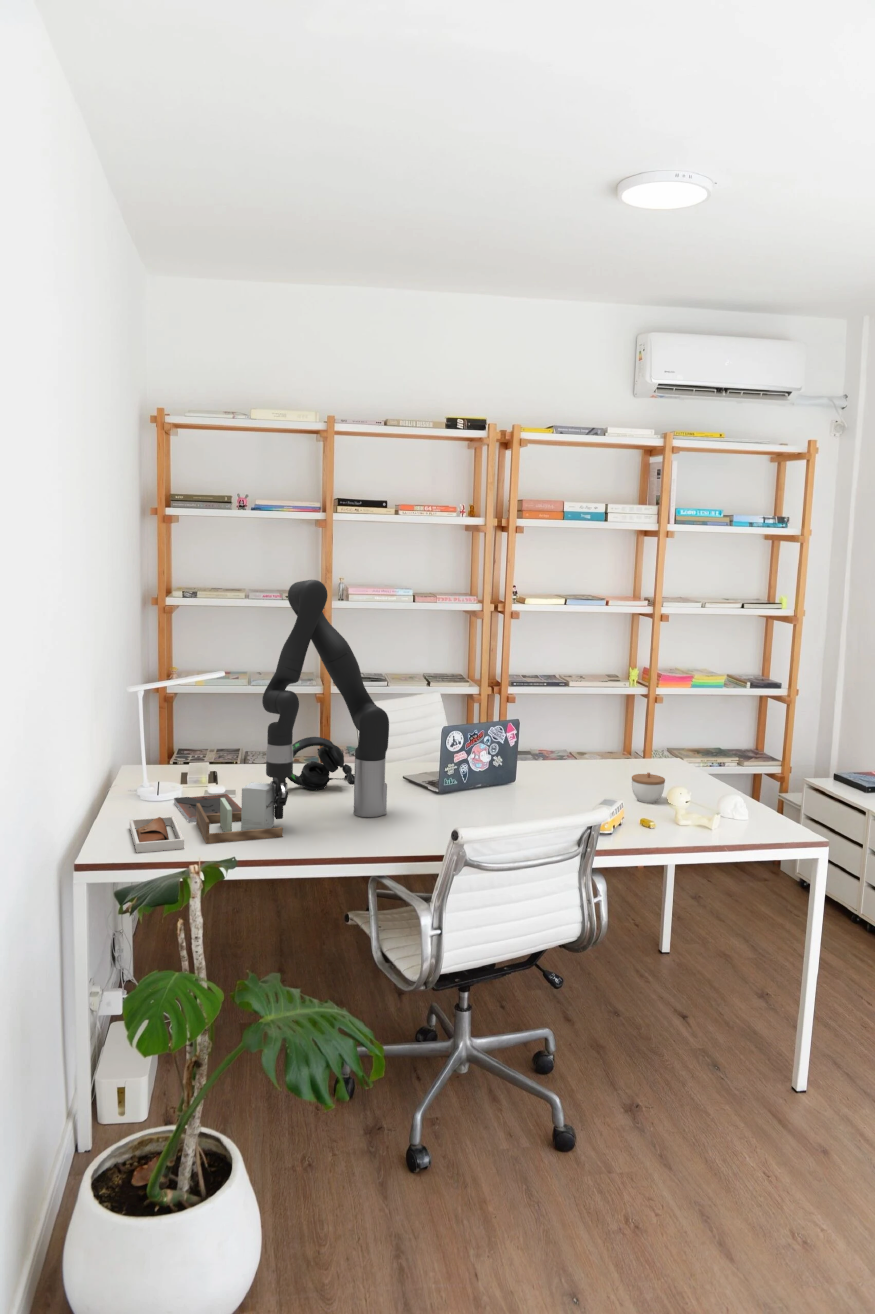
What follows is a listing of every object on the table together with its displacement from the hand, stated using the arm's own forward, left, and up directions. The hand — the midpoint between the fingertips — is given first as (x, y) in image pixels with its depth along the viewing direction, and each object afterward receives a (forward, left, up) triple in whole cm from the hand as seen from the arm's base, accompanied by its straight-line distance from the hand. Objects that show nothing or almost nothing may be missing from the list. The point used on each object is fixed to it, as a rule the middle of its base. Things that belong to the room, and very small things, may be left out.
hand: (278, 818), depth 276 cm
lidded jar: (-122, +4, -3) cm, 122 cm away
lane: (+11, 0, -3) cm, 11 cm away
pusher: (+15, 0, -3) cm, 15 cm away
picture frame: (+16, -22, -4) cm, 28 cm away
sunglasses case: (+35, +1, -3) cm, 35 cm away
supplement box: (+6, 0, -3) cm, 7 cm away
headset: (-23, -40, -3) cm, 46 cm away
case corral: (+34, +1, -3) cm, 34 cm away
